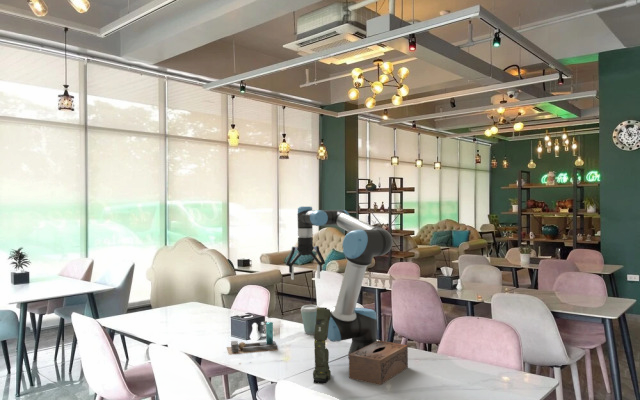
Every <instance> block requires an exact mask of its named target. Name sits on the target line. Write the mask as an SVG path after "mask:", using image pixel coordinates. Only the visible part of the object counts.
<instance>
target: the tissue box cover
mask: <svg viewBox="0 0 640 400" xmlns="http://www.w3.org/2000/svg"><path fill="white" fill-rule="evenodd" d="M408 347H409V346H408V344H402V343H397V342H392V341H391V342H390V341H384V340H379V339H377V341H376V342H374V343H372V344H370V345H368V346H366V347H364V348H362V349H360V350H357V351H355V352H353V353H351V354H349V359H348V378H349V379H351V380H356V381H359V382H360V381H361V382H365V383H369V384H373V385H378V386H381V385H383V384H385V383H386V382H388V381H389V380H391V379H392V378H394V377H395V376H397V375H398V374H400V373H402V372H403V371H405V370H406V369H408V368H409V360H408V359H409V358H408V356H409V354H408V353H409V350H408ZM387 380H388V381H387Z"/></svg>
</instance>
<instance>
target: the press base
mask: <svg viewBox="0 0 640 400" xmlns="http://www.w3.org/2000/svg"><path fill="white" fill-rule="evenodd" d="M259 342H260V341H259ZM259 342H249V343H248V342H247V343H246V342H245V344H246V347H243V350H241V349H239V342H238V340H232V341H230V346H227V347H226V350H227V354H228V356H229V355H242V354H253V353H265V352H277V351H279V348H278V346H279V345H278V344H276V345H265V346H259Z"/></svg>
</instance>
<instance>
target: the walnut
mask: <svg viewBox="0 0 640 400" xmlns="http://www.w3.org/2000/svg"><path fill="white" fill-rule="evenodd" d="M238 344H239V349H241V350H243V347H246V342H244V341H241V342H238Z"/></svg>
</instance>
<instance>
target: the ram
mask: <svg viewBox="0 0 640 400" xmlns="http://www.w3.org/2000/svg"><path fill="white" fill-rule="evenodd" d="M265 331H266V332H265V333H266V334H265V337H266V338H265V340H266V341H261V342H260V341H259V346H265V345H277V342H276V341H275V340H274V322H273V321H267V322H265Z"/></svg>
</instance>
